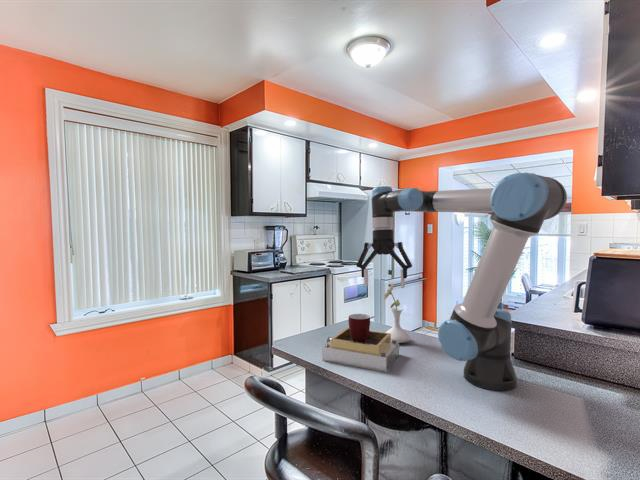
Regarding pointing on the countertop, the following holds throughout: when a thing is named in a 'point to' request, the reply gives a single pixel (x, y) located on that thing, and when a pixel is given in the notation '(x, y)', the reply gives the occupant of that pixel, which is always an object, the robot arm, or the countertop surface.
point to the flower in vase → (396, 321)
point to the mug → (359, 327)
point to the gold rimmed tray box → (362, 350)
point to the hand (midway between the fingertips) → (384, 286)
